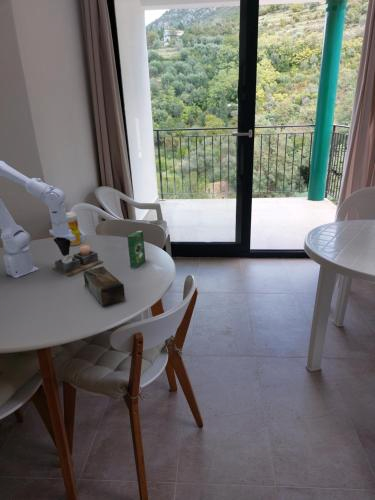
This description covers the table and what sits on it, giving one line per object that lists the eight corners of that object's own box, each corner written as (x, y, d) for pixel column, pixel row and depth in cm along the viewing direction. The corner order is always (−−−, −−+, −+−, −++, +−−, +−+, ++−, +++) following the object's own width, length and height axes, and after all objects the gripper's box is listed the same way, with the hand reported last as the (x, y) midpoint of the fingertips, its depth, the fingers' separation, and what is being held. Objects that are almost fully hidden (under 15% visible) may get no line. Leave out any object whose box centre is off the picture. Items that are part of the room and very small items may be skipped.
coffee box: (140, 259, 140) (137, 229, 136) (146, 260, 139) (143, 230, 135) (130, 267, 134) (126, 236, 129) (136, 268, 133) (132, 236, 128)
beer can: (78, 245, 160) (73, 215, 154) (66, 246, 160) (60, 215, 154) (82, 241, 165) (77, 211, 160) (70, 241, 165) (65, 212, 160)
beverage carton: (106, 279, 125) (103, 263, 122) (126, 301, 110) (124, 282, 107) (84, 286, 121) (81, 269, 118) (103, 308, 106) (100, 290, 103)
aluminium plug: (66, 270, 131) (65, 261, 130) (61, 267, 134) (59, 259, 132) (75, 266, 134) (74, 258, 133) (69, 264, 136) (68, 256, 135)
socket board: (69, 277, 128) (67, 267, 127) (52, 269, 135) (50, 260, 134) (103, 262, 139) (101, 253, 138) (85, 256, 147) (84, 247, 145)
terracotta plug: (84, 257, 136) (82, 249, 135) (78, 255, 139) (77, 247, 137) (92, 254, 139) (91, 246, 138) (86, 252, 142) (85, 244, 140)
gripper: (80, 221, 125) (85, 255, 130) (58, 216, 134) (64, 248, 139) (63, 226, 120) (69, 261, 125) (41, 220, 129) (48, 253, 134)
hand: (65, 254), depth 132 cm, fingers closed
